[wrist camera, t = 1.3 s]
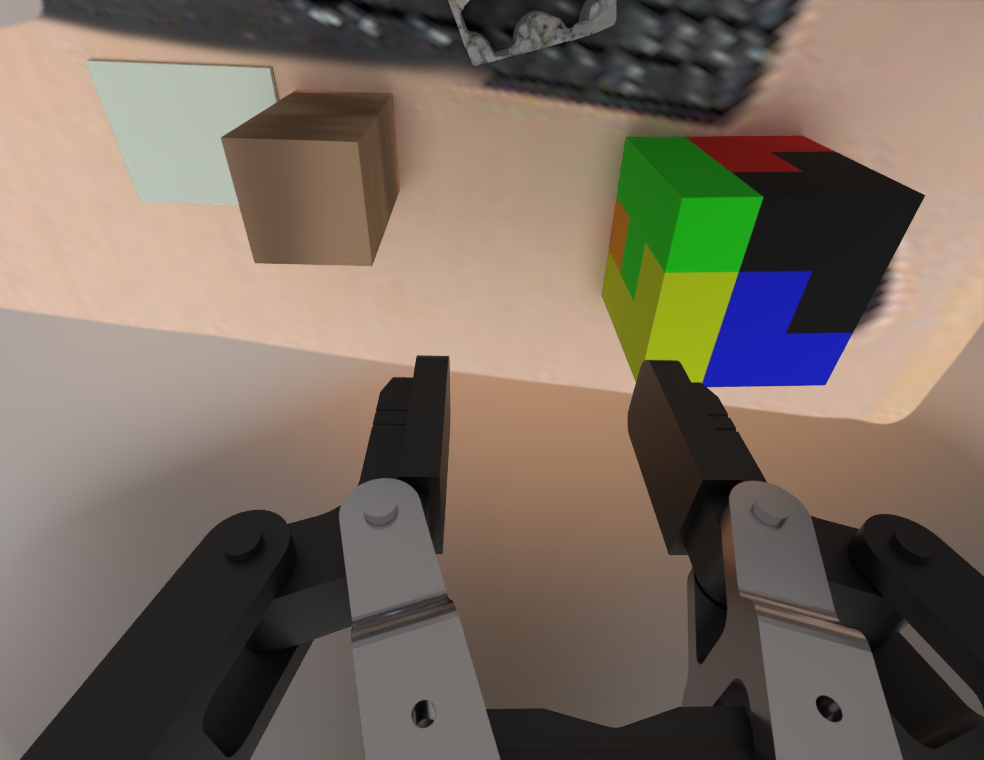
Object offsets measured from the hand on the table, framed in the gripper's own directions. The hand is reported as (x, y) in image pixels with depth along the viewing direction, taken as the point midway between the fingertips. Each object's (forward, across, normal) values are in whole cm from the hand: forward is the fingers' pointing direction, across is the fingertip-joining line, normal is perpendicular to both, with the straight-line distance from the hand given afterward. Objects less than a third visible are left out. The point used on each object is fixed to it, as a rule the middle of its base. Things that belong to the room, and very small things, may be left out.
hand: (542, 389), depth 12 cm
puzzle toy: (+22, -12, +4) cm, 25 cm away
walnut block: (+21, +8, 0) cm, 23 cm away
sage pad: (+21, +16, 0) cm, 27 cm away
